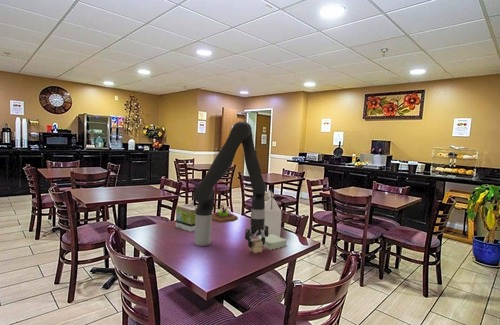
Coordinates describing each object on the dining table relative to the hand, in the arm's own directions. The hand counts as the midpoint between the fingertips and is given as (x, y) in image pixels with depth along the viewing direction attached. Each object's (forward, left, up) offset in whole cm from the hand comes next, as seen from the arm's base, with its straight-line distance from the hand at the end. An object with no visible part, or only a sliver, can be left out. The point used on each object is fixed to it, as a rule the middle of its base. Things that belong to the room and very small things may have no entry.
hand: (256, 245), depth 157 cm
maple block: (-1, 0, -3) cm, 3 cm away
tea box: (-54, -15, -4) cm, 57 cm away
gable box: (-23, +27, -4) cm, 35 cm away
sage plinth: (-4, +14, -3) cm, 15 cm away
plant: (-64, +17, -4) cm, 66 cm away
